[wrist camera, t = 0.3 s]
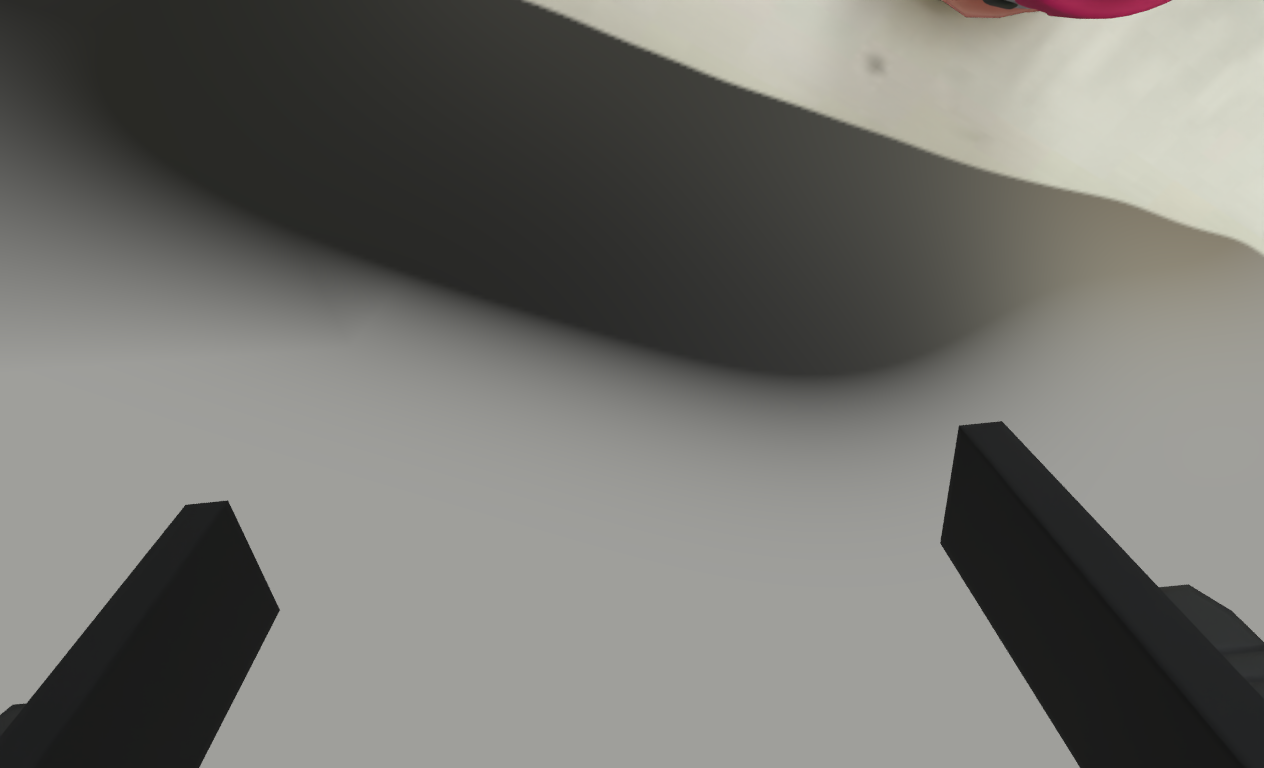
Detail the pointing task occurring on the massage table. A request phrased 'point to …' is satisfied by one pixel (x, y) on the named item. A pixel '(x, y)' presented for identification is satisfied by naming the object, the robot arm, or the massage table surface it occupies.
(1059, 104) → the massage table surface
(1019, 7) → the cake
